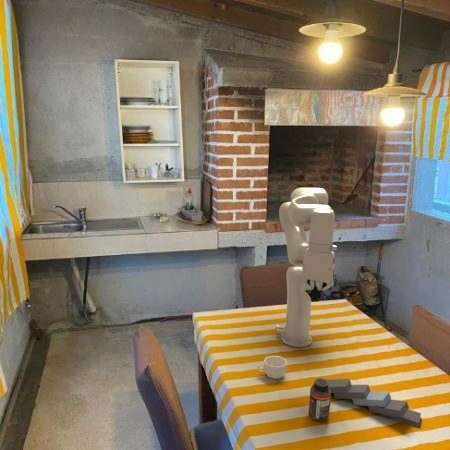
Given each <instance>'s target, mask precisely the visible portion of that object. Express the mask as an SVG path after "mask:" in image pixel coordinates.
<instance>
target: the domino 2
mask: <svg viewBox="0 0 450 450" xmlns="http://www.w3.org/2000/svg"><path fill="white" fill-rule="evenodd" d="M370 391H371V389H370V385H369V384H351V387H350V389H349V391H348V393H333V396H334V399H337V400H339V399H346V400H347V399H349V400H352V399H366V398H367V396H368V394H369V392H370Z"/></svg>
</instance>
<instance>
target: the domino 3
mask: <svg viewBox="0 0 450 450" xmlns="http://www.w3.org/2000/svg"><path fill="white" fill-rule="evenodd" d="M390 393H391V392H390V391H381V390H380V391H377V390H376V391H375V390H370V392H369V394H368V396H367V398H366V399H351V400H352V402H353V405H354V406H366V407H367V406H379V407H385V406H386V405H387V403H388V402H389V401H390V399H392V397H391V394H390Z"/></svg>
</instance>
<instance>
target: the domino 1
mask: <svg viewBox="0 0 450 450" xmlns="http://www.w3.org/2000/svg"><path fill="white" fill-rule="evenodd" d="M325 380H326V381H327V382H328V387H329V389H330V391H331V394H334V393H348V391H349V389H350V387H351V385H352V382H351V378H335V379H334V378H333V379H332V378H331V379H325Z"/></svg>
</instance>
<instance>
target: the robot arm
mask: <svg viewBox="0 0 450 450" xmlns="http://www.w3.org/2000/svg"><path fill="white" fill-rule="evenodd" d="M278 215H279V221H280V222H279V223H280V226H281V228H282V231H283V232H284V235H285V241H286V250H287V251H286V252H287V259H288V262H289V264H291V265H292V266H289V268H288V269H287V270H286V274H285V275H286V276H285V277H286V288H287V291H286V292H287V294H286V295H287V296H286V297H287V298H286V310H285V311H286V312H285V313H286V314H285V325H284V326H282V325H279V324H276V325H275V330H276V333H280V334H281V336H280V340H281V341H282V342H283V343H284V344H285V345H288V346H290V347H295V348H305V347H308V346H310V345H311V344H312V343H313V337H312V336H311V335H310V324H311V323H310V322H311V311H312V309H311V308H312V301H314V302H318V301H319V300H321V298H322V292H323V291H324V290H325V291H326V290H328V289H330V288H331V287H333V286H335V285H334V284H335V282H334V279H335V276H336V257H335V256H336V255H335V251H337V250H338V248H337V247H338V246H337V245H334V242H333V240H334V231H335V230H334V229H335V219H336V215H335V212H334V210H333V208H332V207H331V206H330V205H329V194H328V192H327V191H326V190H325V189H324V188H322V187H297V188H295V189H294V190H293V191H292V192H291V194H290V201H286V202H283V203H282V204H281V205H280V207H279V211H278ZM303 227H304V228H305V227H307V228H309V232H308V233H309V234H308V238H307V233H306V231H305V230H304V229H303ZM307 239H308V240H307ZM306 291H311V294H310V295H309V294H308V292H306ZM311 298H312V299H311Z"/></svg>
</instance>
